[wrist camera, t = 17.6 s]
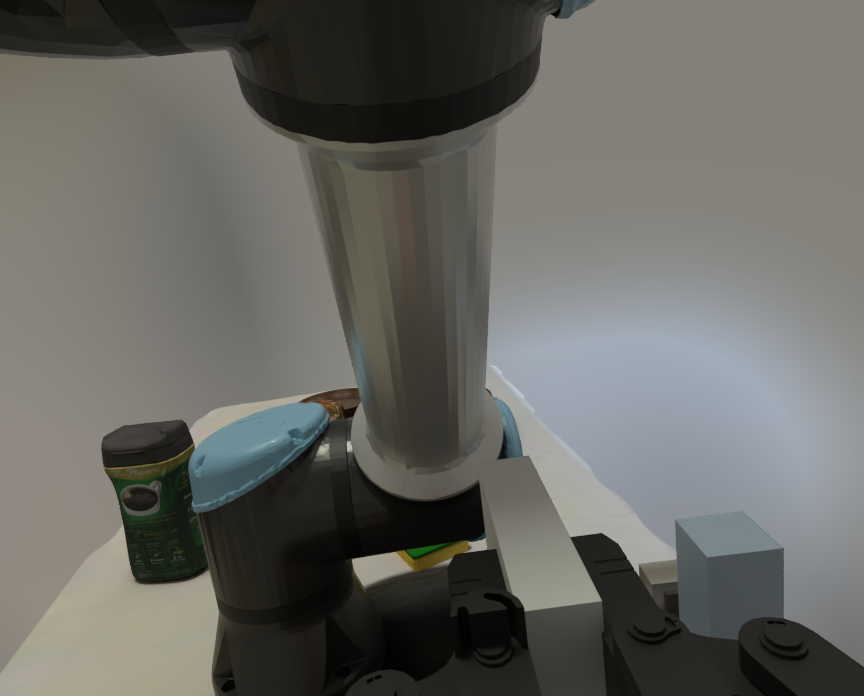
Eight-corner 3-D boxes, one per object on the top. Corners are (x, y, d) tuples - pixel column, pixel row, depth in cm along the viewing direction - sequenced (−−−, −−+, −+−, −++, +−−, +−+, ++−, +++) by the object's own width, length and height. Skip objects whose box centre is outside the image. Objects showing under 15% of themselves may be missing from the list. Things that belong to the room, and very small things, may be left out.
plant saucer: (304, 405, 136) (302, 393, 135) (379, 395, 136) (377, 382, 135) (290, 431, 118) (287, 417, 118) (376, 419, 119) (374, 405, 118)
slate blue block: (783, 702, 41) (783, 548, 38) (711, 710, 41) (707, 557, 38) (744, 650, 46) (742, 511, 43) (681, 658, 46) (675, 519, 43)
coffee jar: (228, 544, 76) (197, 409, 72) (199, 582, 68) (163, 433, 64) (158, 549, 77) (125, 417, 73) (122, 586, 69) (82, 440, 65)
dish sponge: (416, 576, 65) (413, 556, 64) (369, 526, 77) (366, 510, 76) (470, 552, 68) (468, 534, 67) (416, 508, 80) (414, 492, 79)
